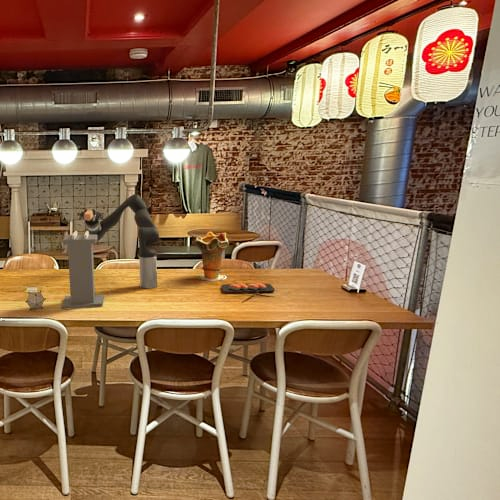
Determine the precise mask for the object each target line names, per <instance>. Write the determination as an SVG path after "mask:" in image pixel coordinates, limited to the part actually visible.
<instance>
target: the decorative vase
mask: <svg viewBox="0 0 500 500" xmlns="http://www.w3.org/2000/svg"><path fill="white" fill-rule="evenodd" d="M195 245H196V247H197V248H198V249H199V250H200V251H201V256H202V257H201V258H202V269H201V272H202V270H203V275H202V274H199V276H198V277H197V279H200V280H202V281H211V282H212V281H214V282H215V281H221V280H226V279H228V278H227V276H226V275H224V274H221V270H222V263H223V252H224V250H225V249H226V248H228V247H229V246H230V243H229V240H228V238H227V232H221V233H220V234H218V235H216V234H214V233H213V232H212V231H208V232H207V233H206V235H205V236H203V237H202V236H197V237H196V238H195Z"/></svg>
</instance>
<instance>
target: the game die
mask: <svg viewBox="0 0 500 500" xmlns="http://www.w3.org/2000/svg"><path fill="white" fill-rule="evenodd" d="M46 299H47V297H44V296H43V295H42V290H40V291H39V292H31V293H30V292H29V291H28V297H27V300H25V302H24V303H27V305H28V307H29V310H30V311H32V310H33V309H44V307H43V305H44V302H45V301H46Z"/></svg>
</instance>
